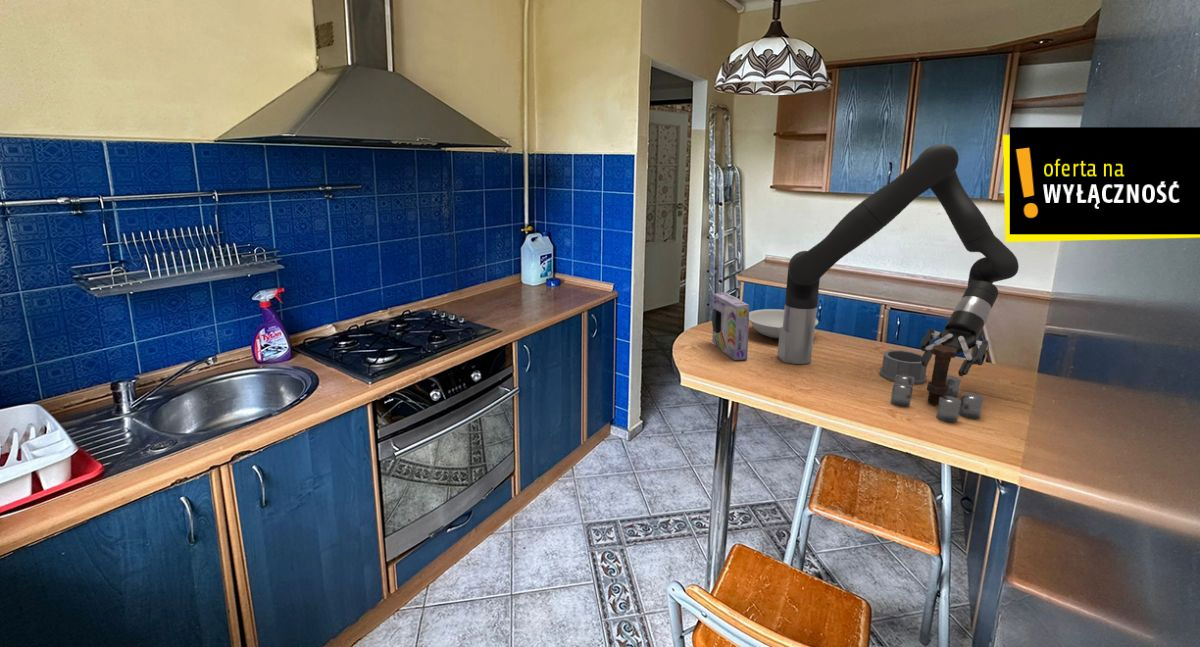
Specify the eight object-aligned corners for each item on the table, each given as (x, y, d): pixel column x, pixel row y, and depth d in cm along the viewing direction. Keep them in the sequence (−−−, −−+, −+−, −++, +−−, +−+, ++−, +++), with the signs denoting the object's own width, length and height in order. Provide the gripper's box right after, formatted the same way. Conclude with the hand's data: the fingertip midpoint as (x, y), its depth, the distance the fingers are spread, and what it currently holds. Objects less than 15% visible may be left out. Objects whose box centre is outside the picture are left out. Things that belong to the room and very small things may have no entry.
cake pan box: (709, 342, 191) (712, 291, 186) (723, 341, 192) (726, 290, 187) (732, 362, 173) (736, 305, 168) (748, 361, 174) (752, 305, 169)
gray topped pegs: (915, 422, 134) (918, 403, 133) (876, 390, 152) (878, 373, 151) (995, 422, 134) (1000, 403, 133) (947, 390, 153) (950, 373, 151)
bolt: (941, 400, 146) (952, 345, 142) (951, 408, 142) (962, 352, 137) (917, 399, 147) (927, 344, 143) (926, 407, 142) (937, 351, 138)
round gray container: (892, 384, 157) (895, 363, 155) (871, 368, 168) (874, 349, 167) (935, 384, 157) (939, 363, 155) (911, 368, 168) (914, 349, 167)
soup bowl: (738, 325, 210) (739, 308, 209) (803, 326, 210) (805, 309, 208) (752, 346, 187) (754, 327, 186) (826, 347, 187) (828, 328, 185)
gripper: (936, 304, 149) (909, 354, 145) (998, 315, 138) (971, 370, 134) (941, 320, 153) (915, 369, 150) (1002, 332, 143) (975, 386, 139)
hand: (941, 369), depth 142 cm, fingers open, 8 cm apart
